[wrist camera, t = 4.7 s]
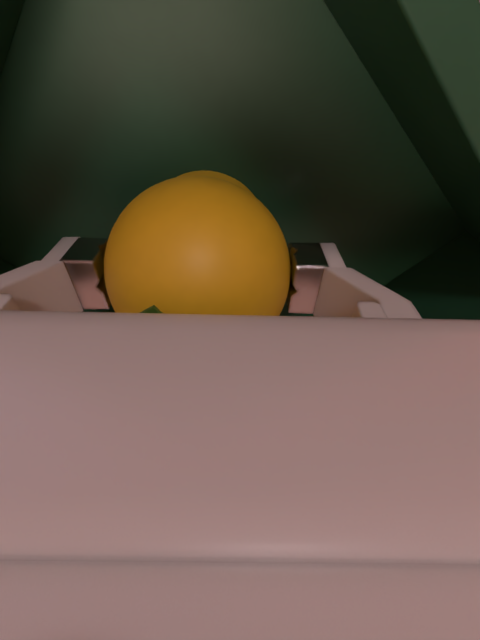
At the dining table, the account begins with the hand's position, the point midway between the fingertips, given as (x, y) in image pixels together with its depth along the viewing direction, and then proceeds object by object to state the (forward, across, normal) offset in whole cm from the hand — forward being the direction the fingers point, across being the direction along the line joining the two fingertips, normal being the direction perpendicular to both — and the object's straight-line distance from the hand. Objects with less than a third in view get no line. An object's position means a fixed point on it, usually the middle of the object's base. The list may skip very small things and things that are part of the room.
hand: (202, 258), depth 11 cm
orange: (+2, 0, 0) cm, 2 cm away
